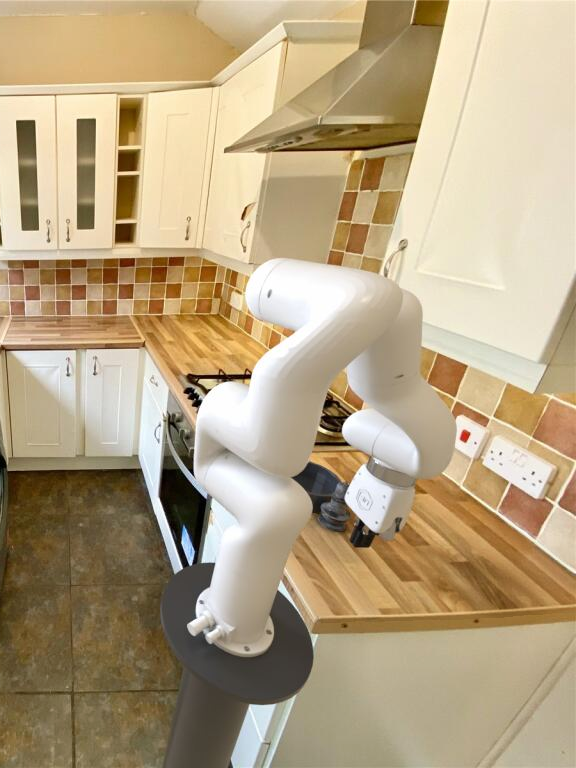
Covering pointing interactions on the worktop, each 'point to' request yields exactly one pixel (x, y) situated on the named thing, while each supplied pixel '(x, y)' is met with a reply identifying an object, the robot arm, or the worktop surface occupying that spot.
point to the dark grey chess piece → (335, 510)
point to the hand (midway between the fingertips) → (359, 544)
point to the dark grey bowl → (317, 484)
